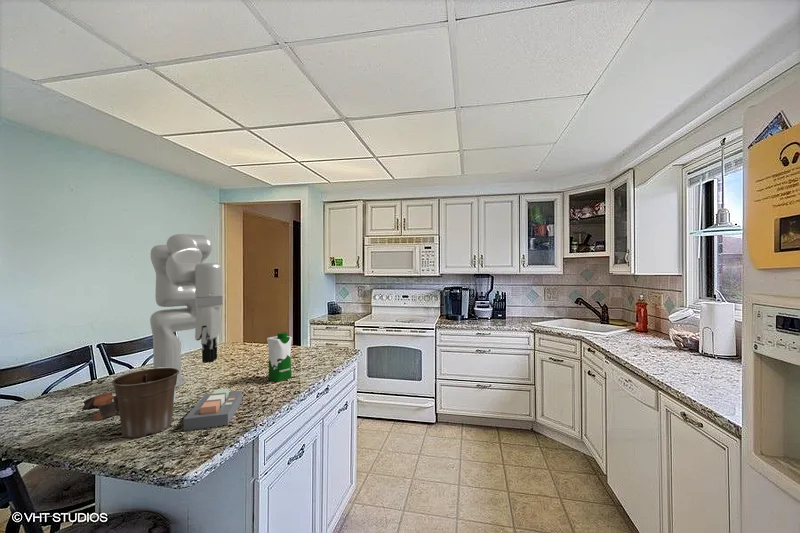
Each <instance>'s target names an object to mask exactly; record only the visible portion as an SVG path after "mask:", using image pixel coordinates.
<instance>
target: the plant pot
mask: <svg viewBox="0 0 800 533" xmlns="http://www.w3.org/2000/svg"><path fill="white" fill-rule="evenodd" d="M178 373H179V370H178V369H176V368H154V367H153V368H149V369H148V368H147V369H141V370H138V371H133V372H128V373H126V374H123V375H120V376H118V377H115V378H114V379H113V380H111V385H112V386H114V393H115V395H114V396H117V399H118V406H119V411H118V413H119V420H120V428H121V435H122V436H123V437H124V438H130V439H131V438H132V439H133V438H134V439H135V438H144V437H147V435H150V434H153V435H155V434H157V433H160V432H162V431H164V430H166V429H168V428H169V427H170V426H171V425H172V423H173V416H174V403H175V402H174V391H175V392H176V387H175V385H176V382H177V374H178Z"/></svg>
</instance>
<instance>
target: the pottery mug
mask: <svg viewBox="0 0 800 533" xmlns="http://www.w3.org/2000/svg"><path fill="white" fill-rule="evenodd" d="M91 410H99V412H97V413H95V414H92V418H93V421H94V422H98V421H100V420H102V419H106V418H111V417H115V416H116V415H117V412H119V406H118V399H117V396H116V395H113V392H109V391H108V392H104V393H101V394H97V395H95V396H91V397H89V398H87V399H85V400H84V401H83V406H82V408H81V412H84V411H91Z"/></svg>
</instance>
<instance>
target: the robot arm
mask: <svg viewBox="0 0 800 533" xmlns="http://www.w3.org/2000/svg"><path fill="white" fill-rule="evenodd" d="M212 246H213V245H212V241H211V240H210V238H209V237H207V236H205V235H203V234H190V233H189V234H188V233H186V234H185V233H177V234H173V235H171V236H169V237H168V239H167V240H166V244H157V245H154V246H153V247H152V248H151V250H150V261H151V264H152V266H153V269H154V272H155V302H156V304H157V306H158V307H162V308H167V309H160V310H157V311H155V312H153V313H152V314H151V315H150V320H149V322H150V329H151V334H152V348H153V351H152V352H153V353H152V355H153V358H152V360H153V361H152V362H153V365H152V366H153V369H154V368H158V367H169V368H176V369H178V370H179V373H178V374H177V382H176V385H175V388H176V387H180V386H182V385H184V384H185V383H186V379H185V378H184V377H182V373H183V371H182V359H181V358H182V352H181V351H182V348H181V347H182V346H181V345H182V344H181V343H182V342H181V340H180V338H179V337H178V336H177V335H176V334H174V333H175V332H179V331H180V332H181V331H188V330H189V331H190V330H194V329H195V330H194V332H195V333H194V339H195V340H196V341H200V345H201V357H202V358H201V360H202V361H201V362H202V363H204V364H206V363H207V364H208V363H214V362H215V360H217V359H218V339H217V337H218V336H219V335H220V334H221V329H222V328H221V326H222V325H221V309H220V307H223V305H224V304H223V266H222V264H220V263H217V262H205V261H206V260H207V259H208V258H209V256H210V255H211V253H212V250H213V249H212V248H213V247H212ZM183 306H186V307H185V308H184V307H183ZM174 307H183V308H174ZM168 308H169V309H168Z"/></svg>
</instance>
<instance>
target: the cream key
mask: <svg viewBox="0 0 800 533" xmlns="http://www.w3.org/2000/svg"><path fill="white" fill-rule="evenodd" d="M213 401H220V406H222V405H223V404H224V402H225V394H222V395H212V396H210V397H209V398H208V399H207V400H206V402H213Z"/></svg>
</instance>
